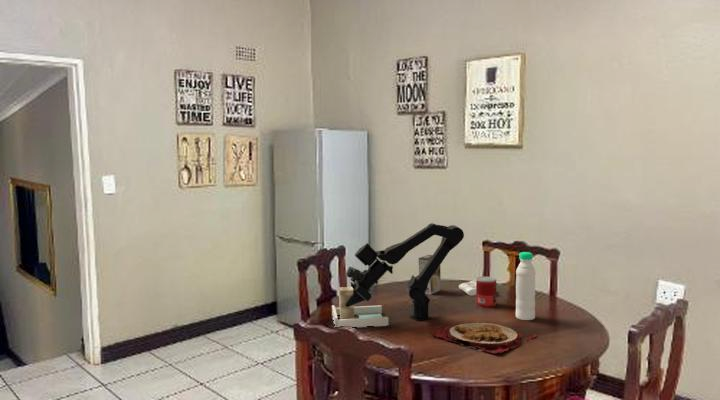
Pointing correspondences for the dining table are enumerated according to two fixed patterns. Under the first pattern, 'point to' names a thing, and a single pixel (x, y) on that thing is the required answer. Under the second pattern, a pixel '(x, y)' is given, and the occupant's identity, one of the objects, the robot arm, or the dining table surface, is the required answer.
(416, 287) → the robot arm
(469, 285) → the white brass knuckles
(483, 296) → the canned food
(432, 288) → the coffee box
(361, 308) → the tray
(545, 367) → the dining table surface
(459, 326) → the plate with food
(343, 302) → the beige cylinder
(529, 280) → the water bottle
